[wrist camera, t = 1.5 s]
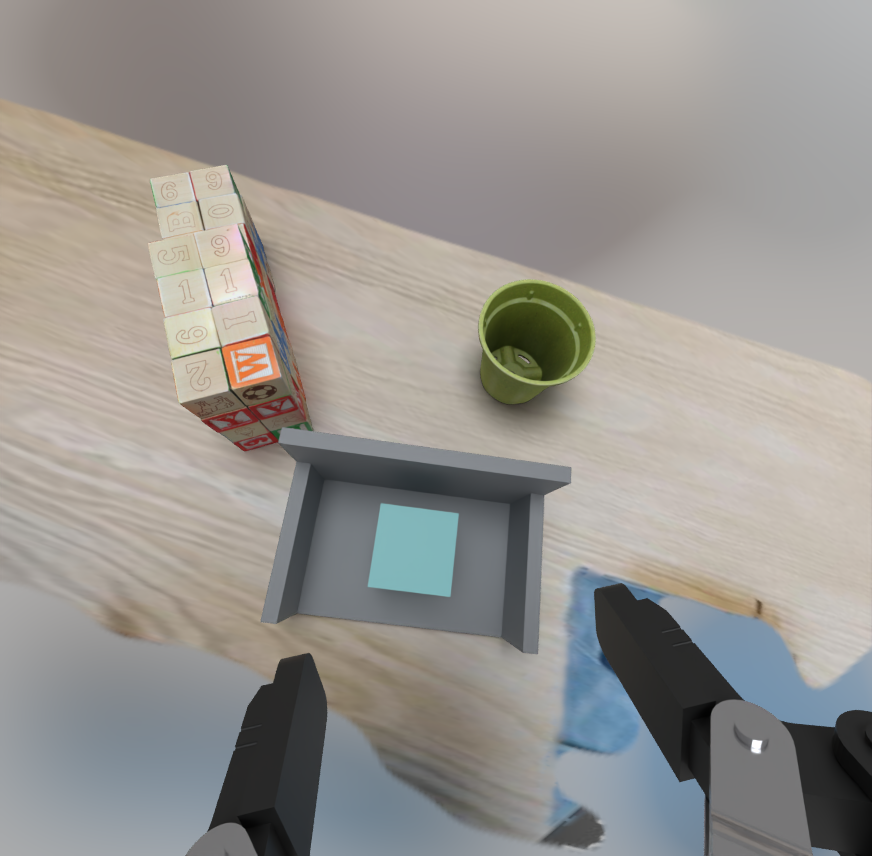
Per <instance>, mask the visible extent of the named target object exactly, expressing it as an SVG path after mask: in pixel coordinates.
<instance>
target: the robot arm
mask: <svg viewBox="0 0 872 856" xmlns="http://www.w3.org/2000/svg"><path fill="white" fill-rule="evenodd" d="M594 600H595V619H596V632H597V637H598V640H599V643H600V646H601V648H602V651H603V653H604V655H605V656H606V658H607V660H608V661H609V663H610V665H611V667H612V668H613V670H614V672H615V673H616V675H617V677H618V678H619V680H620V682H621V683H622V685H623V687H624V689H625V690H626V692H627V694H628V695H629V697H630V699H631V700H632V702H633V704H634V706H635V707H636V709H637V711H638V712H639V714H640V716H641V717H642V719H643V721H644V722H645V724H646V726H647V728H648V729H649V731H650V733H651V734H652V736H653V738H654V739H655V741H656V743H657V744H658V746H659V748H660V750H661V751H662V753H663V755H664V756H665V758H666V760H667V761H668V763H669V765H670V766H671V768H672V770H673V772H674V773H675V775H676V777H677V778H678V780H679V782H682V781H686V780H690V779H694V778H695V779H696V780H697V782H698V783H699V785H700V787H701V788H702V790H703V792H704V793H705V801H704V802H705V803H704V808H705V809H704V856H813V854H812V849H811V847H816V848H822V849H829V850H835V851H837V852H838V853H839V854H840V856H872V712H868V711H862V710H852V711H847V712H845V713H843V714H841V715H840V716H839V717H838V719H837V721H836V725H835V727H824V726H814V725H803V724H793V723H787V722H784V721H780V720H778V719H777V718H776V717H775V716H774V715H772V714H771V713H770V712H768V711H767V710H765V709H763V708H762V707H760V706H758V705H755V704H753V703H750V702H747V701H745V700H743V699H742V698H741V697H740V696H739V695H738V693H737V692H736V691H735V690H734V689H733V688H732V687H731V685H730V684H729V683H728V682H727V681H726V679H725V678H724V677H723V676H722V675H721V674H720V672H719V671H718V670H717V669H716V668H715V667H714V665H713V664H712V663H711V662H710V661H709V660H708V658H707V657H706V656H705V655H704V654H703V653H702V651H701V650H700V649H699V648H698V647H697V646H696V644H695V643H693V642H692V640H691V639H690V638H689V636H688V635H687V634H686V633H685V632H684V630H681V628H680V626H679V624H678V623H677V622H676V621H675V620H674V619H673V618H672V616H671V615H670V614H669V613H668V612H667V611H666V610H665V609H663V608H662V607H660V606H659V605H657V604H656V603H654V602H653V601H651V600H649V599H648V598H646V599H642V600H638V601H637V600H636V598H635V597H634V596H633V595H632V593H631V592H630V591H629V590H628V588H627V587H626V586H625V585H624V584H622V583H619V584H615V585H611V586H606V587H602V588H597V589H595V591H594ZM326 722H327V700H326V694H325V691H324V688H323V685H322V682H321V680H320V677H319V674H318V671H317V669H316V666H315V663H314V660H313V658H312V656H311V654H310V653H307V654H302V655H298V656H294V657H289V658H285V659H281V660H280V662H279V664H278V667H277V671H276V674H275V678H274V682H273V683H272V684H267V685H263V686H261V688H260V689H259V690H258V692H257V694H256V695H255V696H254V698H253V699H252V701H251V702H250V704H249V705H248V707H247V711H246V714H245V717H244V720H243V723H242V726H241V732H240V733H239V736H238V739H237V742H236V745H235V747H236V749H235V751H234V752H233V755H232V758H231V761H230V764H229V768H228V771H227V774H226V777H225V780H224V783H223V786H222V790H221V793H220V796H219V799H218V802H217V806H216V809H215V812H214V815H213V818H212V821H211V824H210V827H209V829H208V831H207V833H206V834H205V835H203V836H202V837H201V838H200V839H199V840H198V841H197V842H196V843H195V844H194V845H193V846H192V847H191V849H190V850H189V851H188V853H187V854H186V856H310V848H311V840H312V832H313V824H314V817H315V808H316V800H317V793H318V785H319V777H320V769H321V761H322V754H323V746H324V738H325V730H326Z"/></svg>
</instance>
